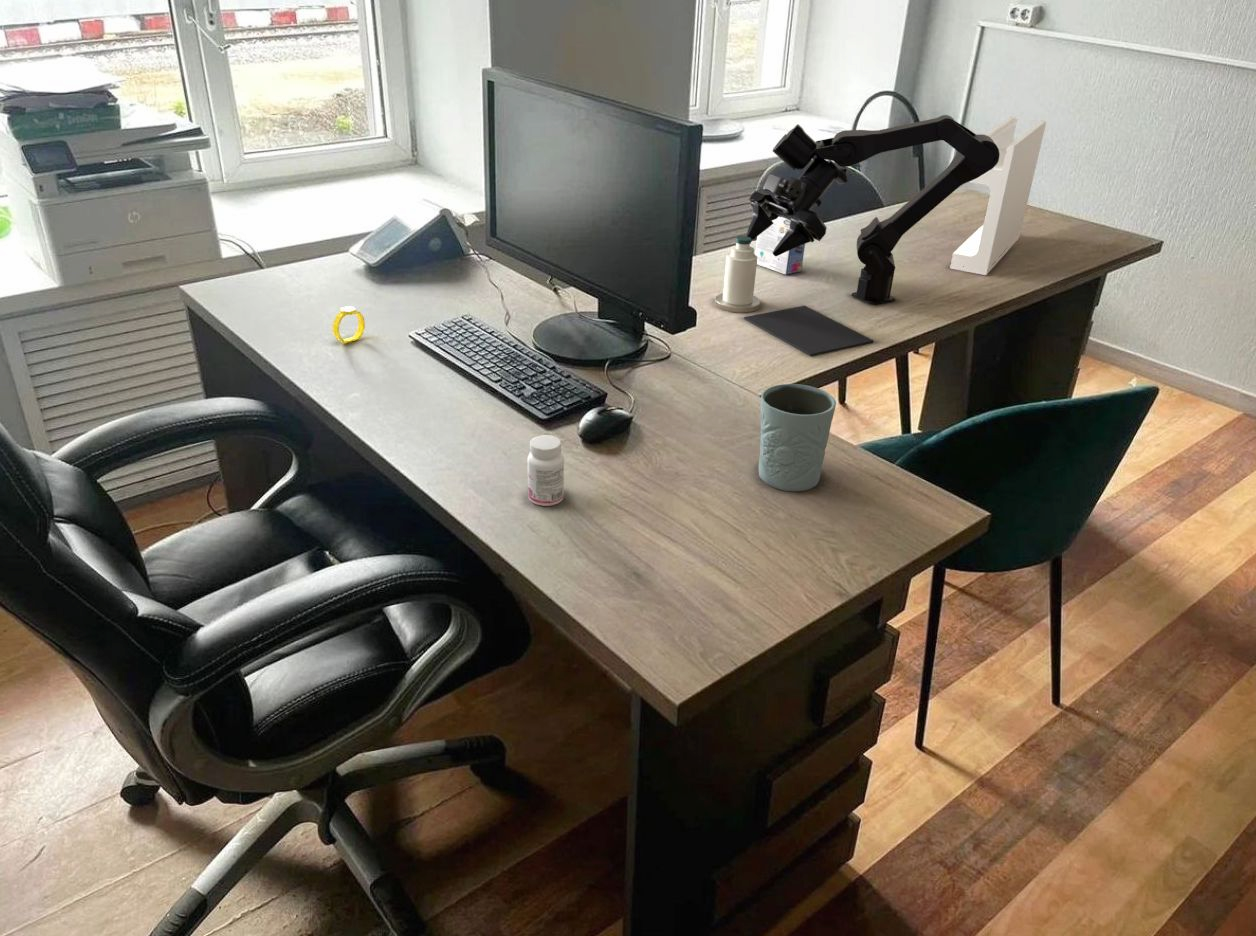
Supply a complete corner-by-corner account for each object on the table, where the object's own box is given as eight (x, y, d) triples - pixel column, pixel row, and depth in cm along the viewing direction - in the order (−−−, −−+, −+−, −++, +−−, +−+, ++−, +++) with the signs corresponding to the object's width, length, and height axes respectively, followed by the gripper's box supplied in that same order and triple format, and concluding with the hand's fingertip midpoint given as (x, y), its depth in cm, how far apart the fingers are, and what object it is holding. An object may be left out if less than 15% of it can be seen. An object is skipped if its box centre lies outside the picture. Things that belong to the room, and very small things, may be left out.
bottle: (741, 292, 204) (746, 232, 198) (758, 302, 199) (765, 240, 193) (716, 297, 201) (722, 235, 195) (734, 306, 197) (740, 244, 190)
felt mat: (804, 307, 201) (804, 305, 201) (873, 342, 186) (873, 340, 186) (743, 318, 194) (744, 316, 194) (810, 356, 179) (810, 354, 179)
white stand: (986, 275, 223) (1014, 145, 209) (949, 268, 226) (975, 140, 212) (1019, 238, 249) (1046, 121, 236) (986, 232, 253) (1011, 116, 239)
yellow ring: (341, 347, 174) (338, 315, 171) (331, 343, 176) (327, 311, 173) (369, 338, 178) (365, 306, 176) (358, 334, 180) (355, 302, 177)
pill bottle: (527, 488, 136) (527, 433, 131) (563, 488, 136) (563, 433, 132) (527, 507, 131) (527, 450, 127) (564, 506, 132) (564, 450, 128)
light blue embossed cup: (775, 499, 136) (785, 419, 130) (739, 464, 144) (747, 388, 138) (838, 486, 139) (851, 408, 133) (799, 453, 147) (810, 378, 141)
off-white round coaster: (742, 294, 206) (742, 289, 206) (768, 308, 199) (769, 303, 199) (705, 300, 202) (706, 295, 201) (732, 315, 195) (732, 310, 195)
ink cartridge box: (803, 271, 220) (811, 205, 213) (786, 276, 217) (794, 209, 210) (769, 259, 227) (776, 195, 219) (753, 264, 223) (759, 198, 216)
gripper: (761, 148, 198) (711, 210, 199) (822, 170, 185) (768, 236, 185) (788, 185, 206) (739, 244, 206) (849, 208, 192) (796, 271, 192)
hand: (759, 248), depth 197 cm, fingers open, 9 cm apart
